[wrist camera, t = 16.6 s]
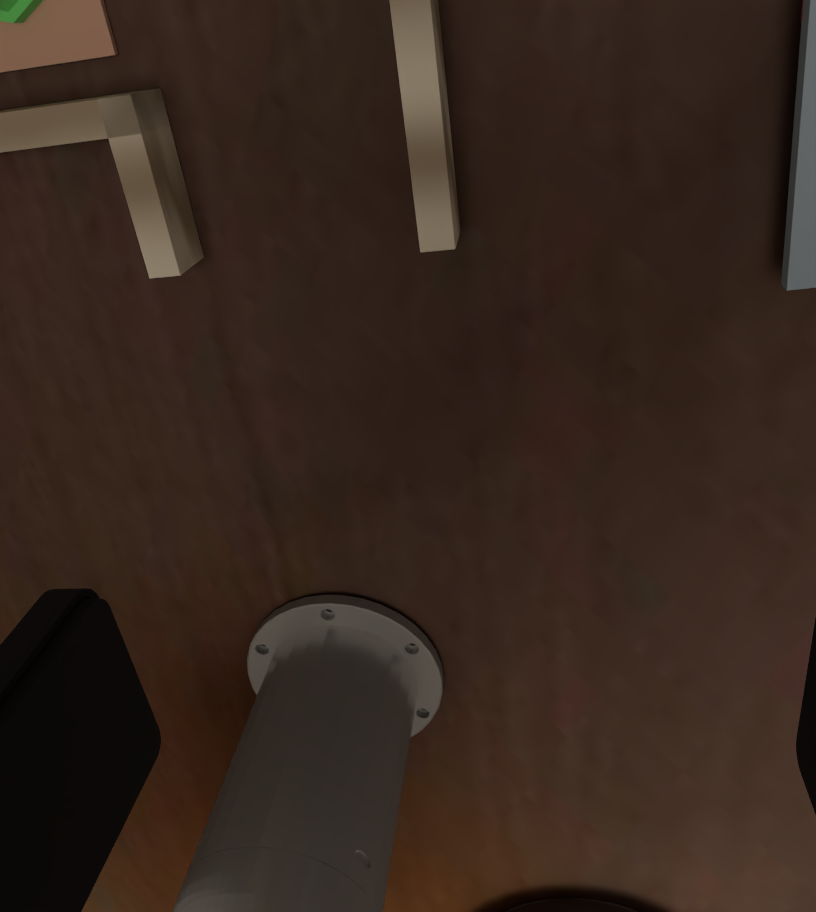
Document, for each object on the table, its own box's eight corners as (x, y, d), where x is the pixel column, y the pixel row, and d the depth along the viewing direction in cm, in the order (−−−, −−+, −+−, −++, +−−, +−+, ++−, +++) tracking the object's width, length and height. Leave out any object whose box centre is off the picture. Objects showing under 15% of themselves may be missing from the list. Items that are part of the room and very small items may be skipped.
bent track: (460, 231, 36) (455, 249, 33) (10, 276, 40) (-26, 295, 37) (402, -373, 26) (388, -415, 23) (-184, -231, 30) (-250, -254, 27)
